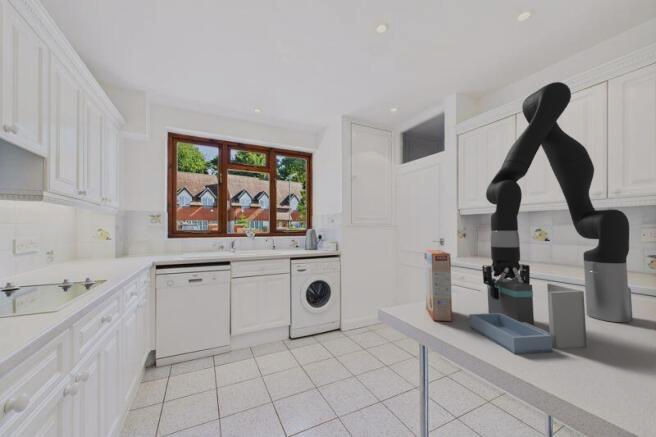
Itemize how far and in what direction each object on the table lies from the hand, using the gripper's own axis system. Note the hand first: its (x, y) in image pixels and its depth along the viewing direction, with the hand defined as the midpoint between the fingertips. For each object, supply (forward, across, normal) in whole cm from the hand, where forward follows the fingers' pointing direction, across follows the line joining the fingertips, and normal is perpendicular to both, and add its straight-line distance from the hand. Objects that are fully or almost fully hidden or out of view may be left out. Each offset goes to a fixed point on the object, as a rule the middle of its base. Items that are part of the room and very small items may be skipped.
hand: (507, 298), depth 82 cm
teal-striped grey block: (+6, 0, -1) cm, 6 cm away
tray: (+6, -10, -12) cm, 17 cm away
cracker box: (+7, -18, +8) cm, 21 cm away
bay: (+6, 0, -15) cm, 16 cm away
